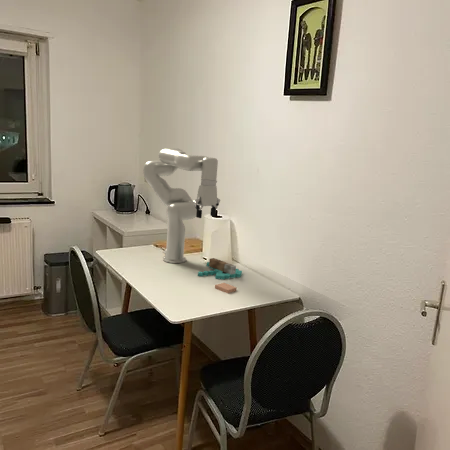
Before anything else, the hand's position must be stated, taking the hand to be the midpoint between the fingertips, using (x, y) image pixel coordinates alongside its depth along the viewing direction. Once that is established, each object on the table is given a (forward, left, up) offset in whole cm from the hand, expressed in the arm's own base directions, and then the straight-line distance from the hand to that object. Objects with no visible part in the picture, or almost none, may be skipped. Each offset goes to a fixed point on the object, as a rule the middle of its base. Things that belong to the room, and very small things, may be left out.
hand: (205, 216), depth 227 cm
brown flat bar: (+8, +7, -27) cm, 29 cm away
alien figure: (+8, +7, -29) cm, 31 cm away
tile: (+22, -9, -28) cm, 37 cm away
